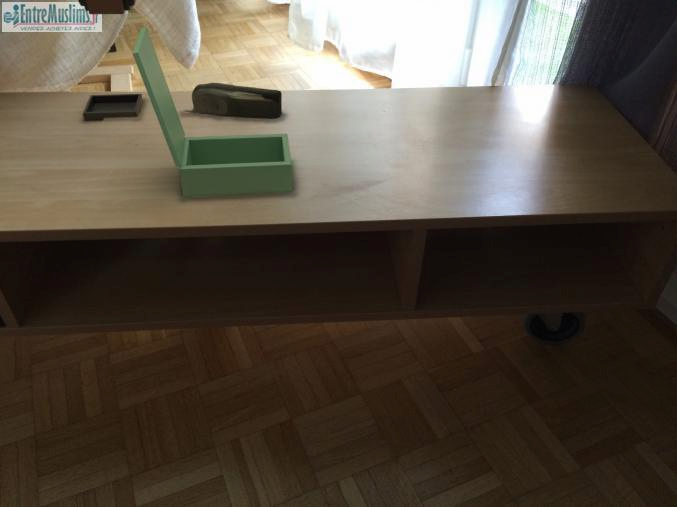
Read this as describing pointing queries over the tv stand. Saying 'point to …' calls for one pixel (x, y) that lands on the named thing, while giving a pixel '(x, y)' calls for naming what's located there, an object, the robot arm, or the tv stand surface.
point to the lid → (159, 94)
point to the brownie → (105, 6)
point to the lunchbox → (236, 165)
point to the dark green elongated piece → (236, 101)
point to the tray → (112, 106)
